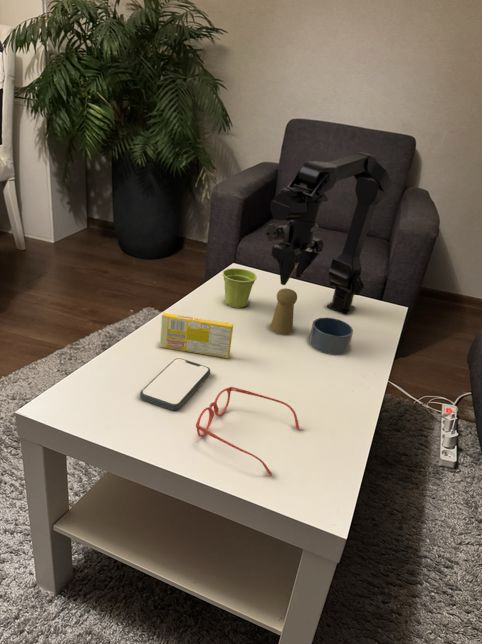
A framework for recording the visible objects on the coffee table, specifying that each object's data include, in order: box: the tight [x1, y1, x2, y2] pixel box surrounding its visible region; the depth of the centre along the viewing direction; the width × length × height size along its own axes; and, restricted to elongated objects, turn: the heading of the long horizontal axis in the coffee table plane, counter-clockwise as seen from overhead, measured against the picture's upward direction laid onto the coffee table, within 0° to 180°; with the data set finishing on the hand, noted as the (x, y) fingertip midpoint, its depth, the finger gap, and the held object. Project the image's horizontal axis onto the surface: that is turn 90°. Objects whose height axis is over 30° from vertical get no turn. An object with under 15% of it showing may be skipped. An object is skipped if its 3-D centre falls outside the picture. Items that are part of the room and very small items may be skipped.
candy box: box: [159, 312, 234, 359], centre depth 122 cm, size 16×2×8 cm, turn 84°
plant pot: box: [221, 267, 258, 309], centre depth 148 cm, size 9×9×9 cm
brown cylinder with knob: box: [269, 287, 298, 336], centre depth 138 cm, size 6×6×11 cm
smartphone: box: [139, 357, 211, 411], centre depth 111 cm, size 9×2×16 cm
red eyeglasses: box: [195, 386, 300, 476], centre depth 99 cm, size 17×16×5 cm
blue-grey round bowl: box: [308, 317, 354, 355], centre depth 135 cm, size 10×10×5 cm
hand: (290, 280), depth 133 cm, fingers open, 9 cm apart
